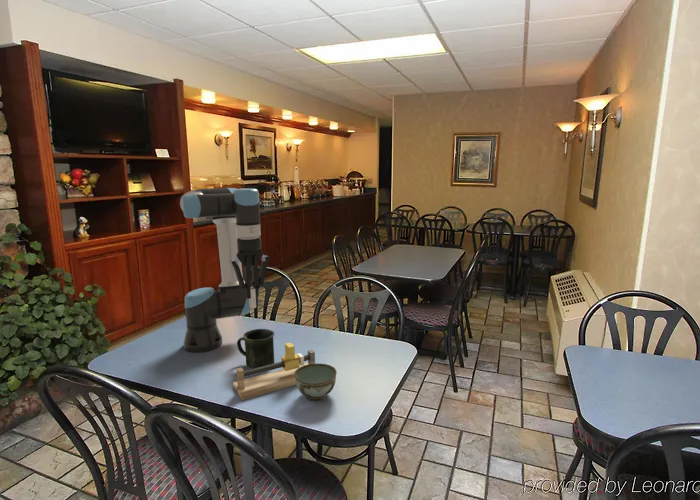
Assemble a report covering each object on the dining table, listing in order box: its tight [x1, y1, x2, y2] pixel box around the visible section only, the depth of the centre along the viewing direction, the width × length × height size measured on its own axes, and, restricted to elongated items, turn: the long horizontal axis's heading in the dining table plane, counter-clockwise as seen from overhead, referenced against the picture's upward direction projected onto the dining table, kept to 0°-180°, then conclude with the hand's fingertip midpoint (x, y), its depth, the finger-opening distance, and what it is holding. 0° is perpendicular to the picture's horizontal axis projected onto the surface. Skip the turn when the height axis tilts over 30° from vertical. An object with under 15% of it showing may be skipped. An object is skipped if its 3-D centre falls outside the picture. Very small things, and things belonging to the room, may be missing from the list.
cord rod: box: [244, 354, 310, 378], centre depth 143 cm, size 1×24×1 cm, turn 121°
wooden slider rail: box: [232, 349, 316, 401], centre depth 143 cm, size 10×28×8 cm, turn 121°
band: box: [296, 352, 305, 366], centre depth 147 cm, size 3×1×3 cm, turn 31°
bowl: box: [294, 363, 338, 402], centre depth 134 cm, size 14×13×8 cm
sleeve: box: [280, 342, 299, 371], centre depth 144 cm, size 4×5×8 cm
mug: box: [236, 328, 275, 370], centre depth 156 cm, size 11×15×12 cm
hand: (252, 306), depth 140 cm, fingers closed
